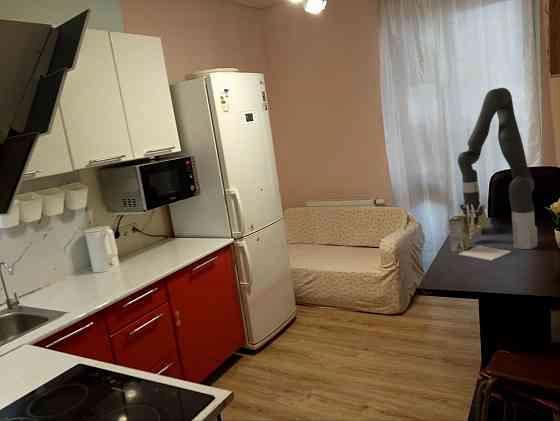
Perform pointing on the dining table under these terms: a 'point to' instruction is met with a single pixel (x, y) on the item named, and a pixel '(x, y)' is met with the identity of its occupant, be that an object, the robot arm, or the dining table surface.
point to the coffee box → (459, 233)
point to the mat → (485, 253)
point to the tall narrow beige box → (474, 229)
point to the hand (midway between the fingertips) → (473, 223)
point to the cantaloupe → (481, 219)
